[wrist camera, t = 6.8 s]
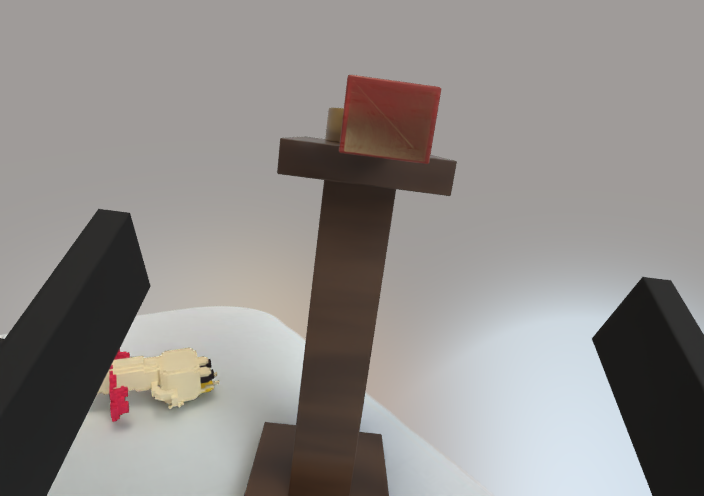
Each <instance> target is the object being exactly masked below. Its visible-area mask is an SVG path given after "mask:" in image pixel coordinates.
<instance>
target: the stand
mask: <svg viewBox="0 0 704 496" xmlns="http://www.w3.org/2000/svg"><path fill="white" fill-rule="evenodd" d="M339 145H340V142H333V141H327V140H325V139H319V138H311V137H292V138H291V137H290V138H281V139H280V148H279V159H278V170H277V173H278V174H283V175H291V176H298V177H306V178H314V179H321V180H324V187H323V196H322V204H321V214H320V222H319V230H318V240H317V248H316V256H315V266H314V275H313V283H312V291H311V300H310V309H309V317H308V326H307V335H306V344H305V352H304V361H303V370H302V379H301V387H300V396H299V405H298V413H297V422H296V425H288V424H279V423H269V422H265V424H264V427H263V431H262V434H261V438H260V442H259V445H258V449H257V452H256V456H255V459H254V463H253V467H252V470H251V474H250V477H249V481H248V484H247V488H246V492H245V495H244V496H389V492H388V484H387V475H386V467H385V459H384V450H383V442H382V435H381V434H374V433H365V432H359V430H360V423H361V417H362V410H363V403H364V397H365V390H366V383H367V377H368V370H369V364H370V357H371V350H372V344H373V337H374V331H375V324H376V318H377V311H378V305H379V298H380V291H381V285H382V278H383V272H384V265H385V259H386V252H387V246H388V239H389V232H390V226H391V219H392V212H393V206H394V199H395V192H396V189H399V190H407V191H415V192H422V193H431V194H439V195H446V196H450V195H451V191H452V186H453V179H454V174H455V169H456V163H457V162H456V161H454V160H450V159H445V158H441V157H437V156H433V155H430V160H429V163H428V164H421V163H413V162H406V161H398V160H391V159H383V158H375V157H368V156H360V155H353V154H345V153H340V152H339Z"/></svg>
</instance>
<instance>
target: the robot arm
mask: <svg viewBox="0 0 704 496" xmlns="http://www.w3.org/2000/svg"><path fill="white" fill-rule="evenodd" d="M149 288H150V283H149V280H148V276H147V272H146V269H145V265H144V261H143V258H142V254H141V251H140V247H139V243H138V240H137V236H136V233H135V229H134V226H133V222H132V219H131V215H130V213H127V212H118V211H111V210H103V209H98V211H97V212H96V213H95V215H94V216H93V217H92V219H91V220H90V222H89V223H88V224H87V226H86V227H85V229H84V230H83V231H82V233H81V234H80V235H79V237H78V238H77V239H76V241H75V242H74V244H73V245H72V246H71V248H70V249H69V251H68V252H67V253H66V255H65V256H64V258H63V259H62V260H61V262H60V263H59V264H58V266H57V267H56V269H55V270H54V271H53V273H52V274H51V276H50V277H49V278H48V280H47V281H46V283H45V284H44V285H43V287H42V288H41V289H40V291H39V292H38V294H37V295H36V296H35V298H34V299H33V300H32V302H31V303H30V305H29V306H28V308H27V309H26V310H25V312H24V313H23V314H22V316H21V317H20V319H19V320H18V321H17V323H16V324H15V325H14V327H13V328H12V330H11V331H10V332H9V334H8V335H7V336H6V338H5V339H1V338H0V496H47V494H48V492H49V490H50V488H51V486H52V484H53V482H54V480H55V478H56V476H57V474H58V472H59V470H60V468H61V466H62V463H63V461H64V459H65V457H66V455H67V453H68V451H69V449H70V447H71V445H72V443H73V441H74V439H75V437H76V435H77V433H78V431H79V429H80V427H81V425H82V423H83V421H84V419H85V417H86V415H87V413H88V411H89V409H90V407H91V405H92V403H93V401H94V399H95V397H96V395H97V393H98V391H99V389H100V387H101V385H102V383H103V381H104V379H105V377H106V375H107V373H108V371H109V369H110V367H111V365H112V363H113V361H114V359H115V357H116V355H117V353H118V351H119V349H120V347H121V345H122V343H123V341H124V339H125V337H126V335H127V333H128V331H129V329H130V327H131V324H132V322H133V320H134V318H135V316H136V314H137V312H138V310H139V308H140V306H141V304H142V302H143V300H144V298H145V296H146V294H147V292H148V290H149ZM592 340H593V343H594V345H595V348H596V351H597V353H598V356H599V358H600V361H601V363H602V366H603V368H604V371H605V374H606V377H607V379H608V382H609V384H610V387H611V389H612V392H613V394H614V397H615V400H616V402H617V405H618V407H619V410H620V413H621V415H622V418H623V421H624V423H625V426H626V428H627V431H628V433H629V436H630V439H631V441H632V444H633V446H634V449H635V451H636V454H637V457H638V459H639V462H640V465H641V467H642V470H643V472H644V475H645V478H646V480H647V483H648V485H649V488H650V491H651V493H652V496H704V334H703V333H702V331H701V329H700V328H699V326H698V325H697V323H696V321H695V319H694V318H693V316H692V314H691V313H690V311H689V310H688V308H687V306H686V304H685V303H684V301H683V300H682V298H681V296H680V295H679V293H678V292H677V290H676V288H675V286H674V285H673V283H672V281H671V280H662V279H654V278H647V277H642V278H641V280H640V281H639V282H638V283H637V285H636V286H635V287H634V288H633V289H632V291H631V292H630V293H629V294H628V295H627V297H626V298H625V299H624V300H623V301H622V303H621V304H620V305H619V306H618V308H617V309H616V310H615V311H614V312H613V314H612V315H611V316H610V317H609V318H608V320H607V321H606V322H605V323H604V325H603V326H602V327H601V328H600V329H599V331H598V332H597V333H596V334H595V336H594V337H593V338H592Z"/></svg>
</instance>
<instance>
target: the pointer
mask: <svg viewBox="0 0 704 496" xmlns="http://www.w3.org/2000/svg"><path fill="white" fill-rule="evenodd" d="M440 94H441V88H440V87H436V86H428V85H421V84H414V83H407V82H400V81H392V80H385V79H378V78H371V77H364V76H357V75H348V78H347V86H346V96H345V103H344V109H343V108H329V111H328V120H327V129H326V139H325V140H327V141H333V142H340V145H339V152H340V153H345V154H353V155H360V156H368V157H375V158H383V159H391V160H398V161H406V162H413V163H421V164H428V163H429V160H430V154H431V148H432V142H433V136H434V130H435V124H436V118H437V112H438V105H439V100H440Z"/></svg>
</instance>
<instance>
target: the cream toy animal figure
mask: <svg viewBox="0 0 704 496" xmlns="http://www.w3.org/2000/svg"><path fill="white" fill-rule="evenodd" d="M210 368H211V360H210V359H208V358H207V357H204V356H203V357H197V353H196V350H195V351H193V349H190V348H184V349H177V350H170V351H164V353H162V355H161V356H159V357H149V358H144V357H143V356H138V357H131V358H130V354H129V352H128V353H126V352H120V349H119V351H118V353H117V355H116V357H115V359H114V361H113V363H112V365H111V367H110V369H109V371H108V373H107V375H106V377H105V379H104V381H103V383H102V385H101V387H100V389H99V391H98V393H103V394H104V395H107V394H110V400H111V403H110V407H111V408H110V410H111V417H112V422H114V421H117V419H120V415H122V414H123V413H128V412H129V403H128V401H125V397H128V391H131V390H136V392H140V391H146V390H152V397H155V400H156V399H159V401H160V400H162V401H165V403H168V404H172V405H169V409H172V407H175V406H178V408H179V407H181V405H184V401H190V400H195V399H196V398H197V397H198V395H201V393H204V392H210V391H211V390H212V389H213V388H214V385H217V384H219V380H218V381H213V382H212V381H210V380H212V379H214V376H217V372H216V373H214V371H213V369H212V370H211V369H210ZM160 385H161V387H158V386H160ZM179 402H181V403H179Z"/></svg>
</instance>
